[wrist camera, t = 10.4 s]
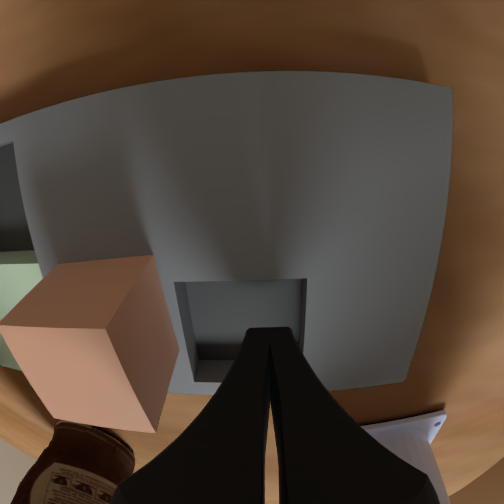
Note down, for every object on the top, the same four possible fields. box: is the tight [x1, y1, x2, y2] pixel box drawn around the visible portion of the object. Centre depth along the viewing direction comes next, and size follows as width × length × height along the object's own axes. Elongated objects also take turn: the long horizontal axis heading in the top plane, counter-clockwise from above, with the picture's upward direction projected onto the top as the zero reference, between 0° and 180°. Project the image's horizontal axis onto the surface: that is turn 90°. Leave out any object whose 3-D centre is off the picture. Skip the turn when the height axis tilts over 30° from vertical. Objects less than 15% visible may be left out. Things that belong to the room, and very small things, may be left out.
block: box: [0, 255, 180, 433], centre depth 9 cm, size 4×4×4 cm
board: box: [0, 71, 453, 395], centre depth 10 cm, size 12×22×3 cm, turn 93°
